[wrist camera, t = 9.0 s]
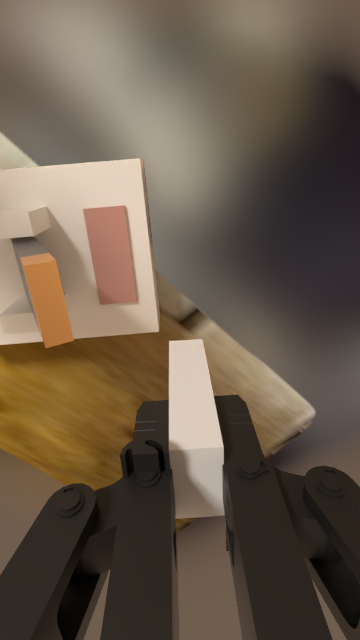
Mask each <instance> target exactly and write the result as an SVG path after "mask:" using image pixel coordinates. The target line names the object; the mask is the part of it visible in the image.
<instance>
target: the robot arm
mask: <svg viewBox="0 0 360 640" xmlns="http://www.w3.org/2000/svg"><path fill="white" fill-rule="evenodd" d="M120 459H121V465H122V471H123V477H122V478H121V479H120V480H118V481H117V482H116V483H114V484H112V485H110V486H107V487H104V488H102V489H99V490H96V491H93V489H92V488H91V487H90V486H88V485H85V484H82V483H80V484H71V485H68V486H65V487H62V488H61V489H59V490H58V491H56V492H55V493H54V494H53V495H52V496H51V498H50V499H49V500H48V501H47V502H46V504H45V506H44V507H43V509H42V510H41V512H40V514H39V515H38V517H37V518H36V520H35V521H34V523H33V525H32V526H31V528H30V529H29V531H28V533H27V534H26V536H25V537H24V539H23V540H22V542H21V544H20V545H19V547H18V548H17V550H16V551H15V553H14V555H13V556H12V558H11V560H10V561H9V563H8V564H7V566H6V567H5V569H4V570H3V572H2V574H1V575H0V640H83V639H84V636H85V633H86V631H87V628H88V625H89V623H90V620H91V617H92V615H93V612H94V609H95V606H96V604H97V601H98V599H99V596H100V593H101V590H102V588H103V585H104V582H105V580H106V577H107V574H108V571H109V569H110V576H109V583H108V590H107V597H106V604H105V611H104V618H103V624H102V631H101V638H100V640H179V613H178V612H179V611H178V570H177V534H176V519H181V518H196V517H211V516H224V511H225V517H226V551H229V555H230V562H231V568H232V574H233V580H234V587H235V594H236V601H237V606H238V614H239V619H240V626H241V633H242V639H243V640H332V637H331V634H330V631H329V628H328V626H327V623H326V620H325V617H324V614H323V611H322V608H321V605H320V603H319V599H318V597H317V594H316V591H315V588H314V585H313V582H314V583H315V585H316V587H317V588H318V590H319V592H320V594H321V595H322V597H323V599H324V601H325V602H326V604H327V606H328V608H329V609H330V611H331V613H332V614H333V616H334V618H335V620H336V621H337V623H338V624H339V627H340V628H341V630H342V632H343V633H344V635H345V637H346V639H347V640H360V487H359V486H358V485H357V484H356V483H355V482H354V481H353V479H351V478H350V477H349V476H348V475H347V474H345V473H344V472H342V471H340V470H338V469H336V468H333V467H327V466H319V467H314V468H312V469H310V470H309V471H308V472H307V473H306V475H305V476H300V475H295V474H290V473H287V472H283V471H281V470H279V469H277V468H275V467H273V466H272V465H271V464H270V462H269V461H268V460H267V459H266V458H265V457H264V455H263V453H262V450H261V447H260V444H259V441H258V438H257V435H256V432H255V429H254V426H253V423H252V420H251V417H250V415H249V411H248V408H247V405H246V402H245V401H243V400H242V399H241V398H240V397H239V396H238V395H226V396H214V395H213V390H212V385H211V380H210V375H209V370H208V365H207V360H206V355H205V350H204V345H203V340H202V339H194V340H179V341H169V400H164V401H149V402H143V404H142V405H141V406H140V408H139V409H138V411H137V416H136V423H135V432H134V438H133V441H131V442H129V443H128V444H127V445H126V446H125V447H124V448H123V450H122V452H121V454H120ZM311 578H312V579H311ZM312 580H313V582H312Z"/></svg>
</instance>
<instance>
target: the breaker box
mask: <svg viewBox="0 0 360 640" xmlns="http://www.w3.org/2000/svg"><path fill="white" fill-rule="evenodd" d="M31 236H34V237H35V238H36V239H37V240H38V241H39V243H40V244H41V245H42V246H43V247H44V248H45V249H46V250H47V251H48V252H49V253H50V254H51V255H52V257H53V258H54V259H55V260H56V263H57V267H58V271H59V276H60V280H61V285H62V289H63V294H64V298H65V302H66V307H67V311H68V316H69V320H70V325H71V329H72V333H73V338H74V339H78V338H90V337H102V336H114V335H126V334H138V333H150V332H159V320H160V310H159V301H158V292H157V282H156V273H155V263H154V254H153V245H152V236H151V226H150V217H149V207H148V198H147V188H146V179H145V171H144V160H143V159H127V160H115V161H103V162H90V163H79V164H65V165H53V166H41V167H28V168H16V169H4V170H0V345H6V344H18V343H30V342H42V341H43V340H42V337H41V334H40V332H39V329H38V326H37V324H36V321H35V318H34V316H33V313H32V310H31V308H30V305H29V302H28V300H27V296H26V293H25V289H24V285H23V282H22V278H21V275H20V271H19V267H18V264H17V260H16V256H15V253H14V249H13V245H12V242H11V238H19V237H31Z"/></svg>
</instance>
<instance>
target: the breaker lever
mask: <svg viewBox="0 0 360 640" xmlns="http://www.w3.org/2000/svg"><path fill="white" fill-rule="evenodd" d="M11 242H12V245H13V249H14V253H15V256H16V260H17V264H18V267H19V271H20V275H21V278H22V282H23V285H24V289H25V293H26V296H27V300H28V302H29V305H30V308H31V310H32V313H33V316H34V318H35V321H36V324H37V326H38V329H39V332H40V334H41V337H42V340H43V342H44V345H45V348H49V347H53V346H56V345H60V344H63V343H67V342H71V341H74V338H73V333H72V329H71V325H70V320H69V316H68V311H67V307H66V302H65V298H64V294H63V289H62V285H61V280H60V276H59V271H58V267H57V263H56V260H55V259H54V258H53V257H52V255H51V254H50V253H49V252H48V251H47V250H46V249H45V248H44V247H43V246H42V245H41V244H40V243H39V241H38V240H37V239H36V238H35V237H34V236H31V237H19V238H11Z"/></svg>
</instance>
